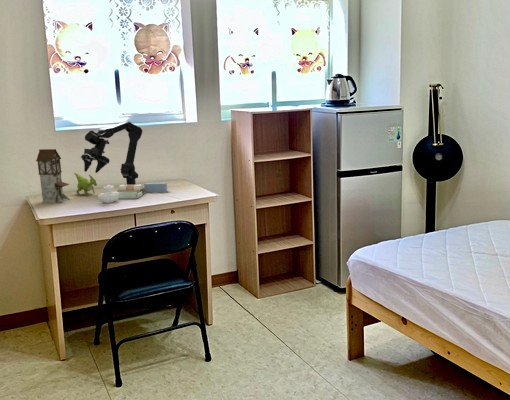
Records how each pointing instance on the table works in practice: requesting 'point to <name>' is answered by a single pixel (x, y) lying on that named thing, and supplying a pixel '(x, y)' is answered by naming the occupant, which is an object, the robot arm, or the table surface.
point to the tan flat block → (133, 191)
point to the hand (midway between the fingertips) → (90, 172)
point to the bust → (108, 195)
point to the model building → (51, 176)
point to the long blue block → (155, 187)
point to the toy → (85, 184)
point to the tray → (129, 195)
